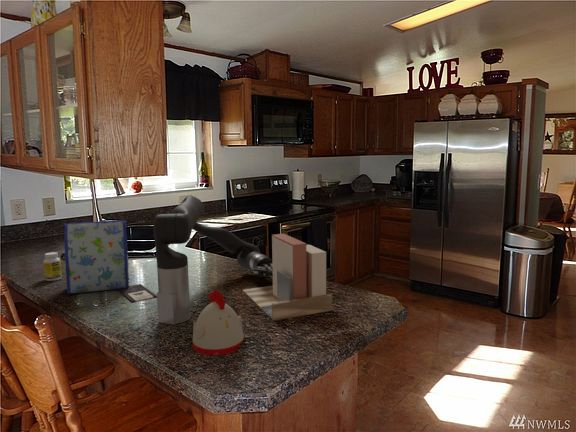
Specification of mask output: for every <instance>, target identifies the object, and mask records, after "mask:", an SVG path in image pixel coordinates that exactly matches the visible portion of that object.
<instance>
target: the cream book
mask: <svg viewBox="0 0 576 432" xmlns="http://www.w3.org/2000/svg"><path fill="white" fill-rule="evenodd" d="M306 267H307V297H313V296H320V295H326V294H327V251H324V250H323V249H320V248H318V247H315V246H314V245H312V244H306Z"/></svg>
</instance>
